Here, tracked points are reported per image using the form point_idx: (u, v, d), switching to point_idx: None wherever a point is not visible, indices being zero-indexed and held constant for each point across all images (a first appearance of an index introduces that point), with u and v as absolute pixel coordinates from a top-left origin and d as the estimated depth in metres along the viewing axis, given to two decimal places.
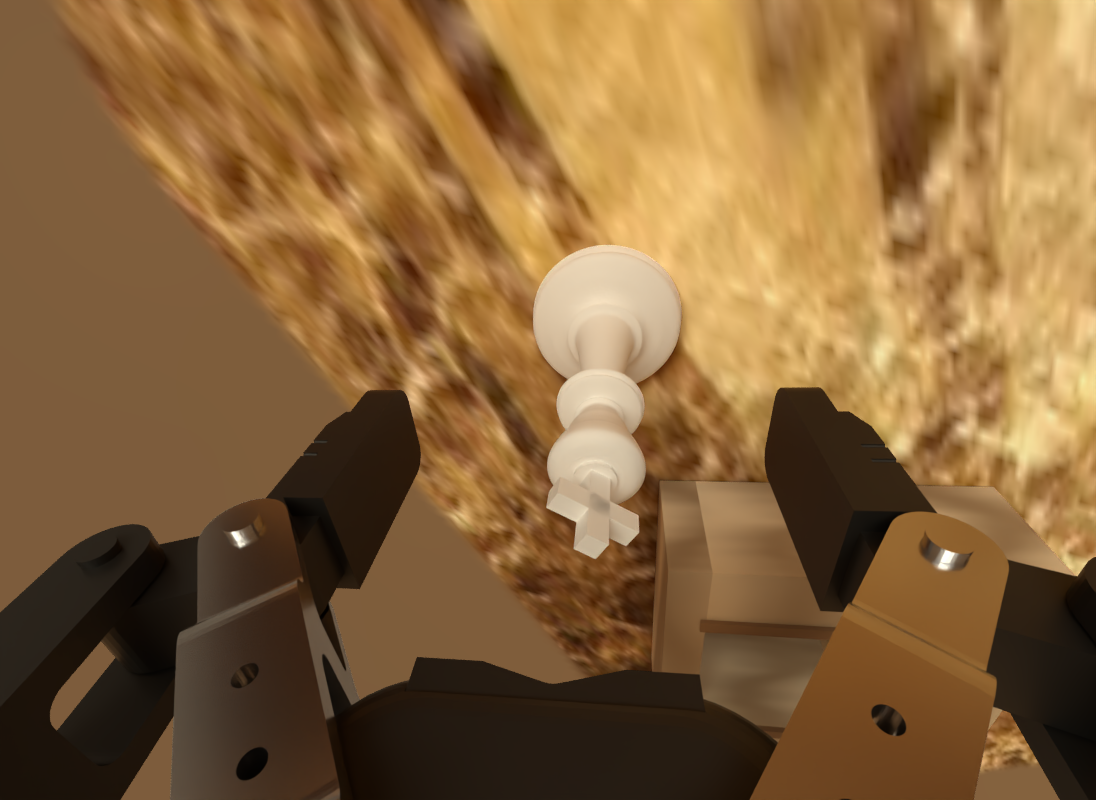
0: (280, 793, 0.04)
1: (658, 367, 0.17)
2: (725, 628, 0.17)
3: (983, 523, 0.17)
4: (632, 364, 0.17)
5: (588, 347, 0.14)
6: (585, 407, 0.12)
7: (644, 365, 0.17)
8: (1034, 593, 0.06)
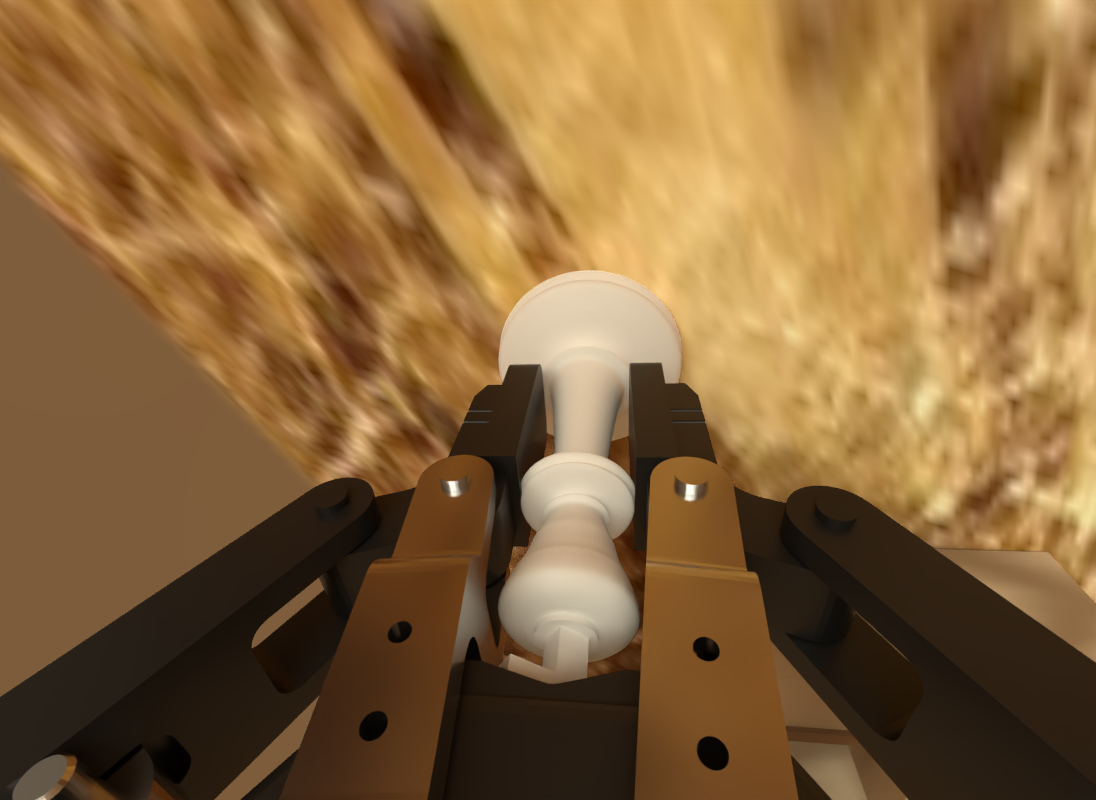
0: (382, 772, 0.04)
1: None
2: None
3: (1042, 603, 0.14)
4: (621, 416, 0.13)
5: (563, 406, 0.11)
6: (556, 507, 0.08)
7: None
8: (761, 519, 0.07)
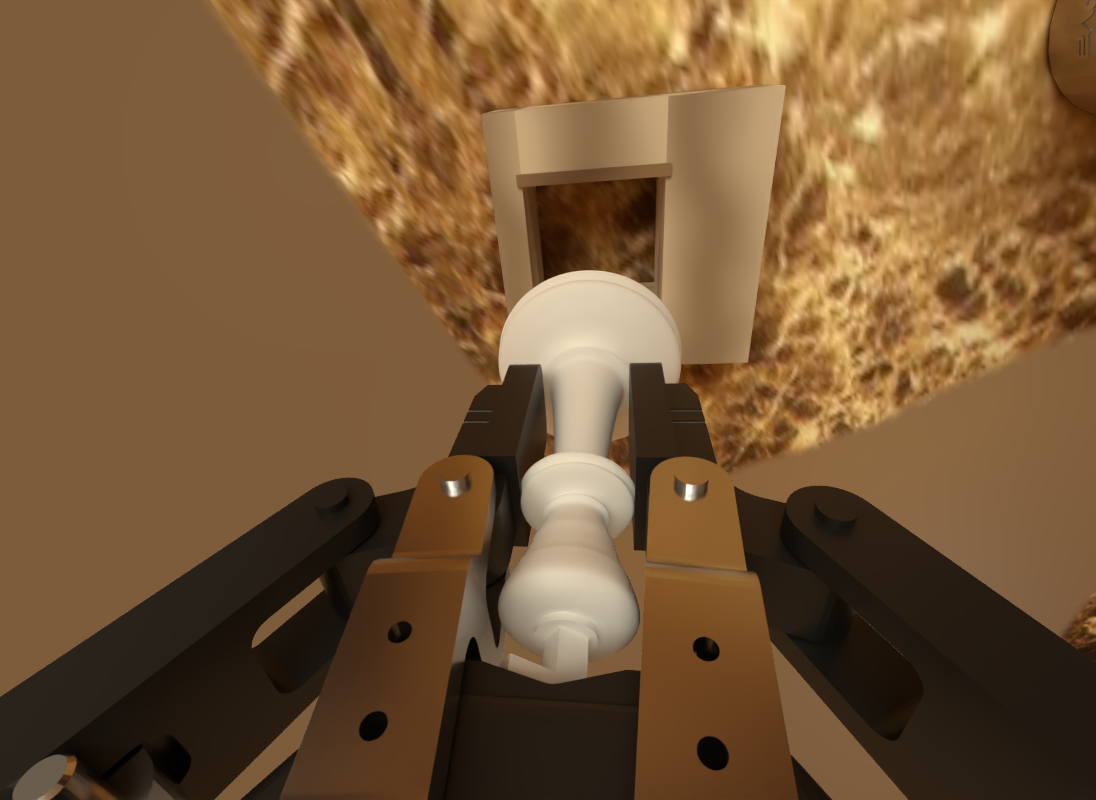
0: (382, 771, 0.04)
1: None
2: (535, 178, 0.22)
3: (734, 88, 0.22)
4: (621, 416, 0.13)
5: (563, 406, 0.11)
6: (556, 507, 0.08)
7: None
8: (761, 519, 0.07)
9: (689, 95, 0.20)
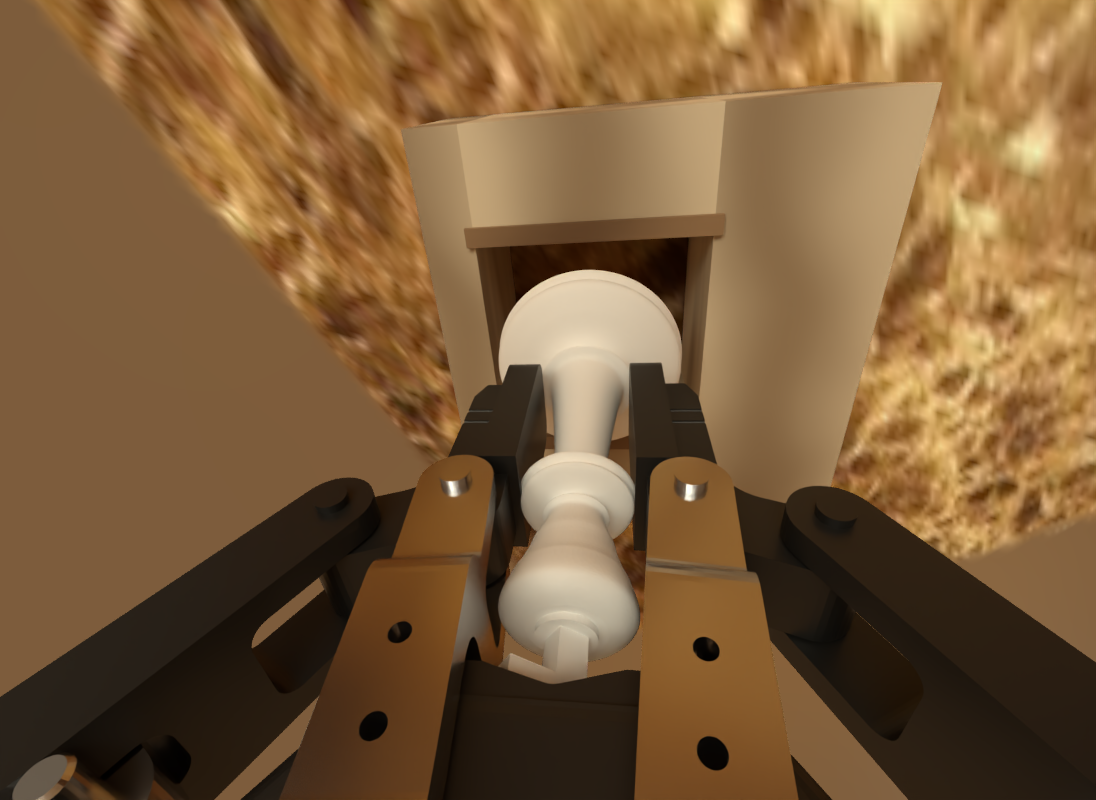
0: (382, 772, 0.04)
1: None
2: (495, 235, 0.13)
3: (829, 87, 0.13)
4: (621, 416, 0.13)
5: (563, 406, 0.11)
6: (556, 507, 0.08)
7: None
8: (761, 519, 0.07)
9: (763, 99, 0.11)
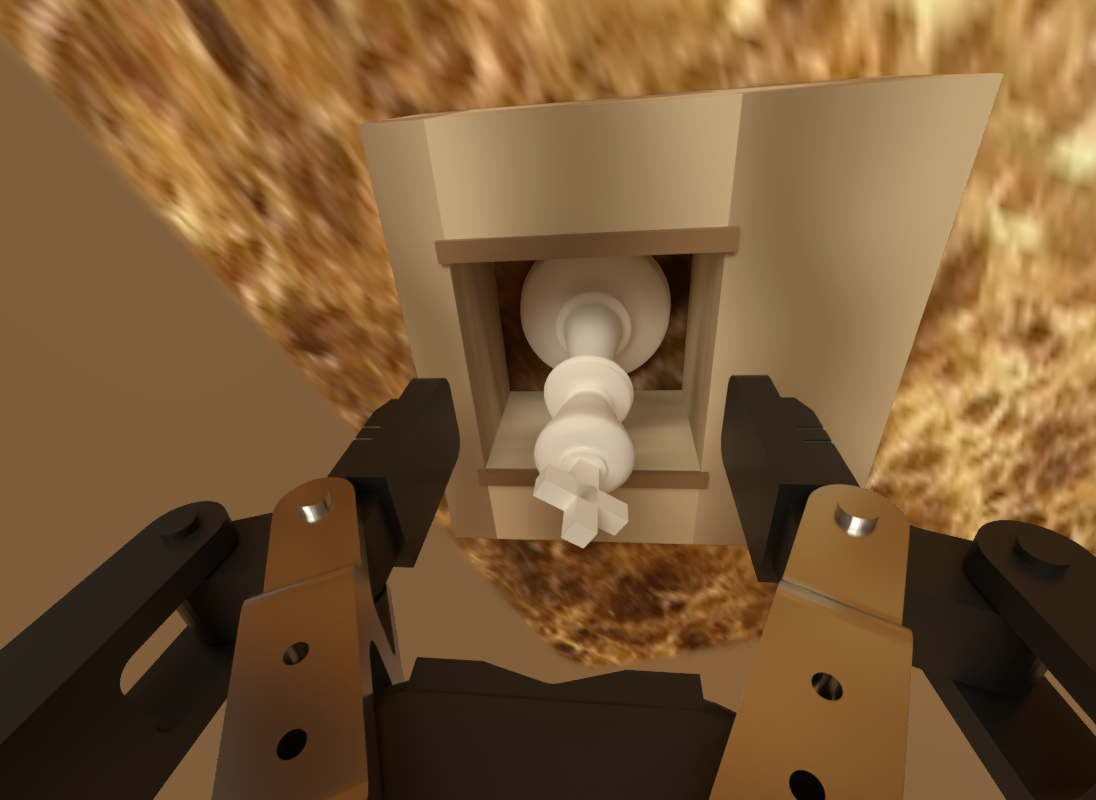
0: (314, 779, 0.04)
1: (646, 358, 0.17)
2: (471, 249, 0.11)
3: (859, 80, 0.11)
4: (620, 355, 0.16)
5: (576, 335, 0.14)
6: (573, 395, 0.11)
7: (633, 356, 0.16)
8: (936, 557, 0.07)
9: (787, 92, 0.09)
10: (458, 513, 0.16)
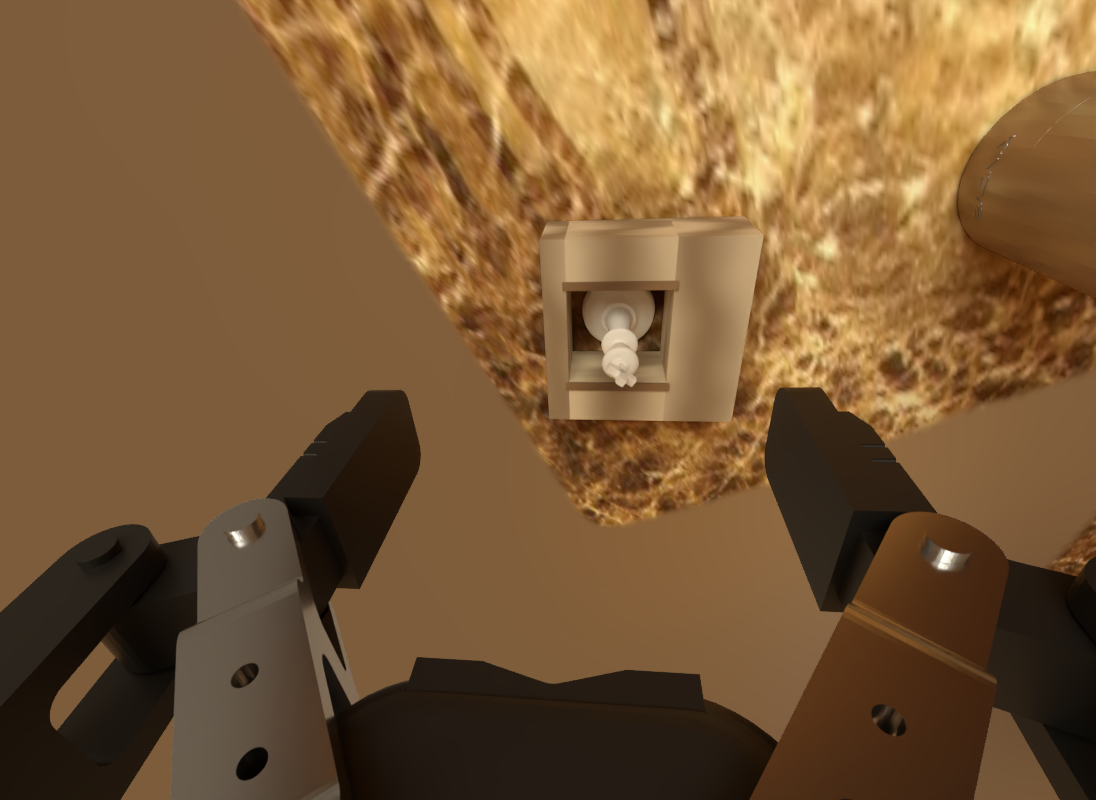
0: (280, 793, 0.04)
1: (643, 334, 0.35)
2: (576, 286, 0.29)
3: (727, 224, 0.29)
4: (630, 332, 0.34)
5: (612, 321, 0.32)
6: (614, 343, 0.29)
7: (636, 333, 0.34)
8: (1034, 593, 0.06)
9: (694, 237, 0.27)
10: (552, 405, 0.34)
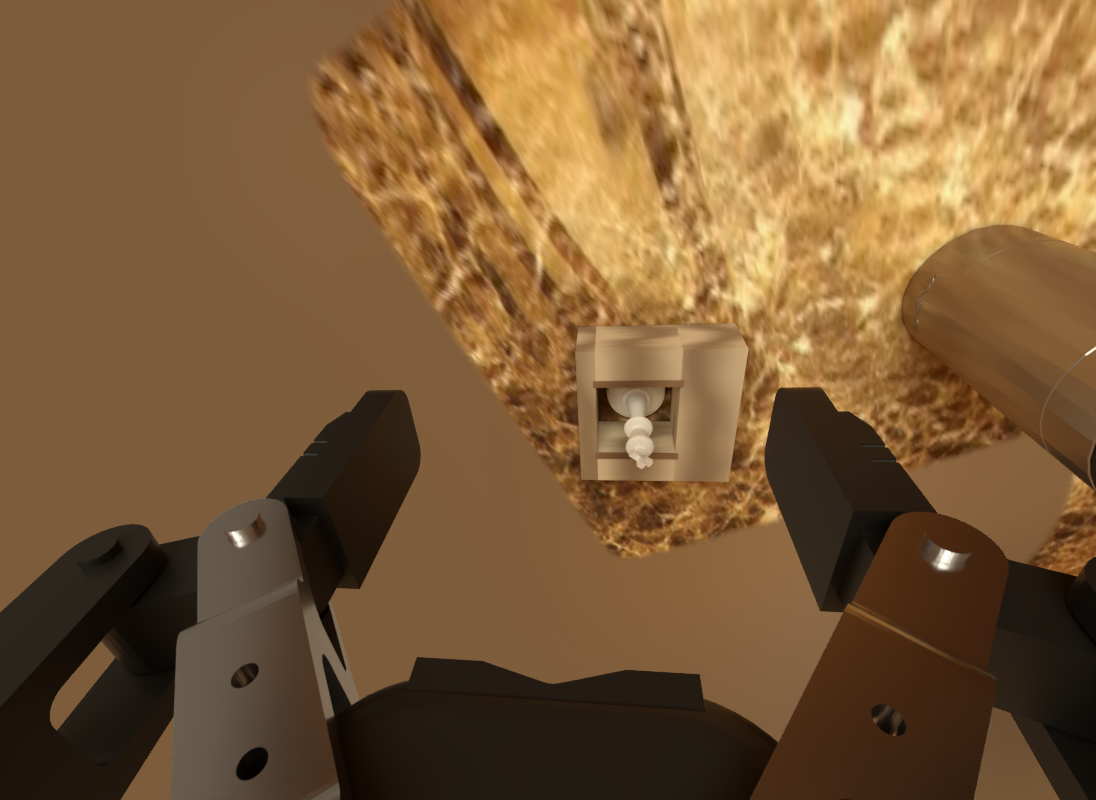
0: (280, 793, 0.04)
1: (655, 410, 0.43)
2: (604, 384, 0.38)
3: (721, 333, 0.37)
4: (645, 409, 0.42)
5: (632, 406, 0.40)
6: (634, 428, 0.38)
7: (650, 409, 0.43)
8: (1034, 593, 0.06)
9: (695, 350, 0.36)
10: (584, 469, 0.42)
